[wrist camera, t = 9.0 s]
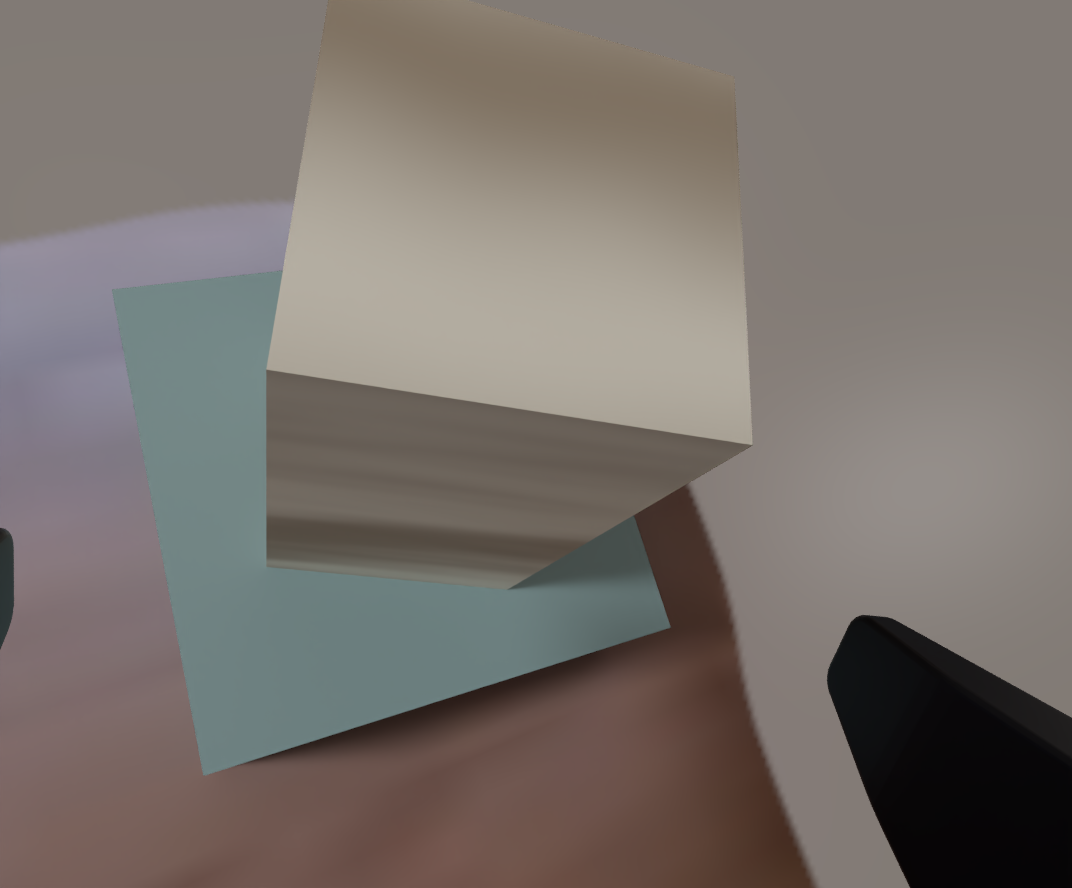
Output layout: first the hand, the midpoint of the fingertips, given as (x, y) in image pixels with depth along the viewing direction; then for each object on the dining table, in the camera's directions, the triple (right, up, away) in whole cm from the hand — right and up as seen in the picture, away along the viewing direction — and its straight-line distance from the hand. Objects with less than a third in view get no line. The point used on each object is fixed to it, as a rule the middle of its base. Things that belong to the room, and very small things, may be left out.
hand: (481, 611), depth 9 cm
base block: (-4, 0, +13) cm, 13 cm away
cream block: (-2, +1, +9) cm, 10 cm away
